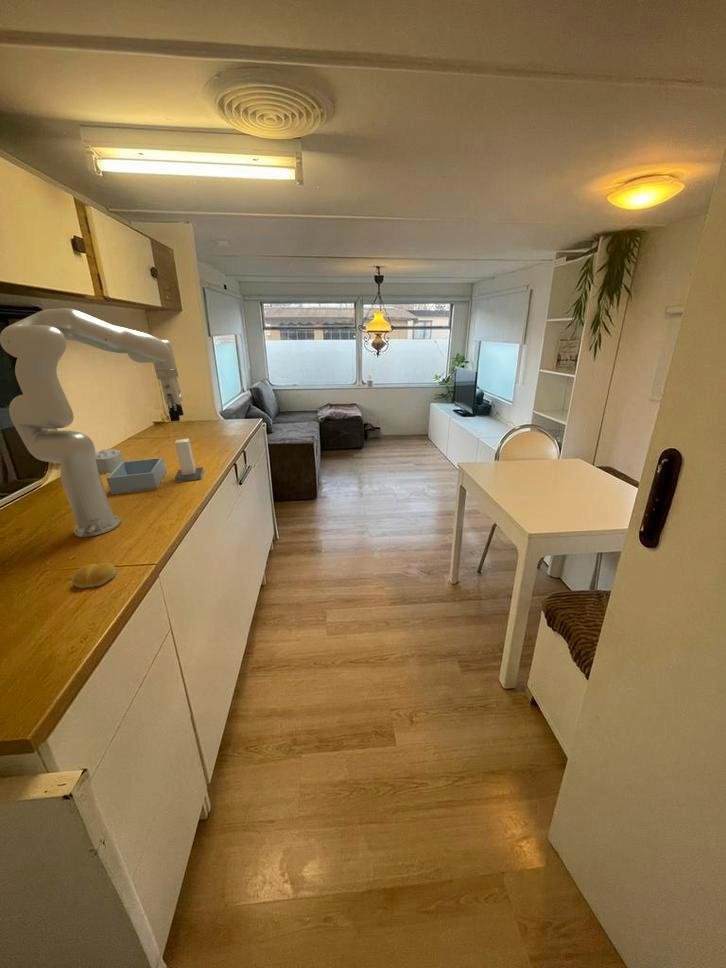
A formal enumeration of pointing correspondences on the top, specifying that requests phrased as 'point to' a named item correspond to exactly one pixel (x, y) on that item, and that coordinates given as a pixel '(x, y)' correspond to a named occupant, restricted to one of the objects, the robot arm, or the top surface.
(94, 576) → the bread roll
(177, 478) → the stud base
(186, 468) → the strut
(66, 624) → the top surface
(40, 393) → the robot arm
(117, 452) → the lumpy-topped squat cylinder
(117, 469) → the bin
